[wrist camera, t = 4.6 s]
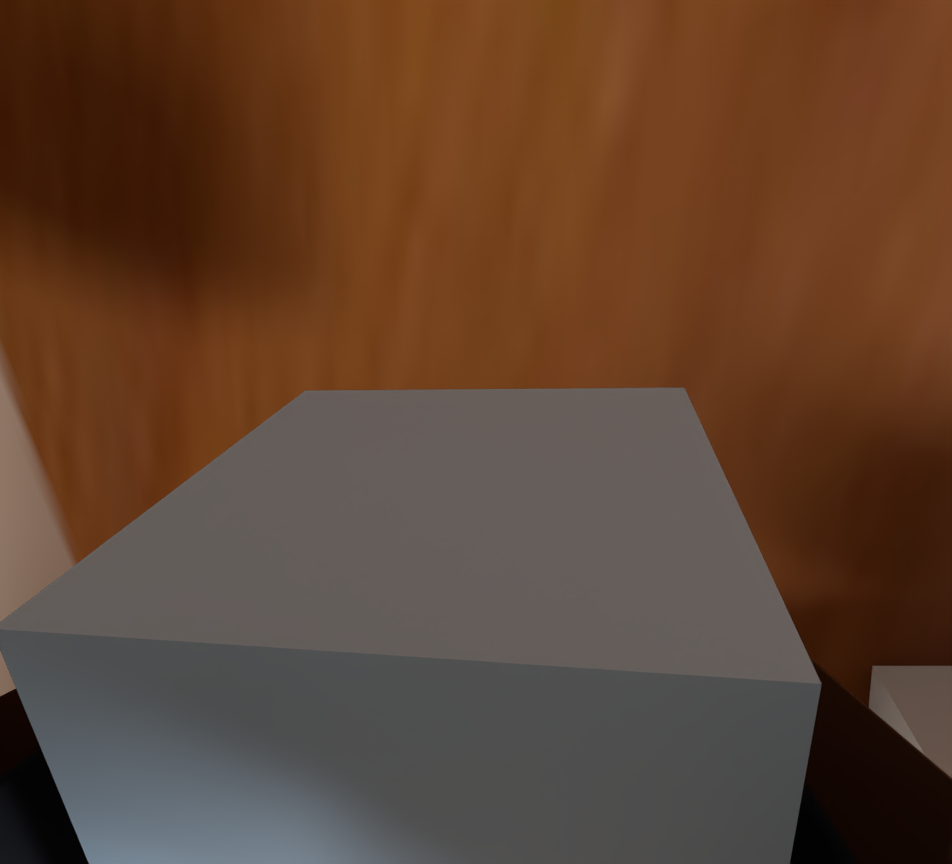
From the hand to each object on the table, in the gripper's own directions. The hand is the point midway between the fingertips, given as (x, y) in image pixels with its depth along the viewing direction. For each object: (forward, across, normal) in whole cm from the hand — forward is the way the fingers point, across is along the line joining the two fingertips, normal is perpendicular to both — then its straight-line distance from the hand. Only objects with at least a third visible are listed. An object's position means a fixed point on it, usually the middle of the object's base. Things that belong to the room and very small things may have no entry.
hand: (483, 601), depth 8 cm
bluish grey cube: (+1, 0, 0) cm, 1 cm away
